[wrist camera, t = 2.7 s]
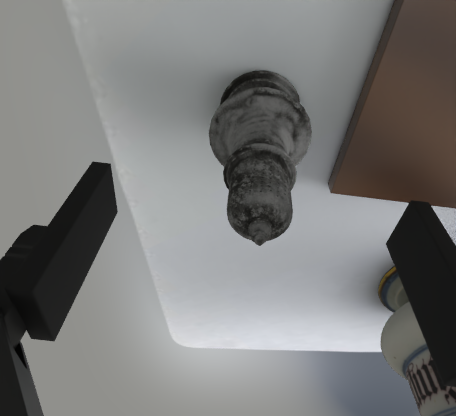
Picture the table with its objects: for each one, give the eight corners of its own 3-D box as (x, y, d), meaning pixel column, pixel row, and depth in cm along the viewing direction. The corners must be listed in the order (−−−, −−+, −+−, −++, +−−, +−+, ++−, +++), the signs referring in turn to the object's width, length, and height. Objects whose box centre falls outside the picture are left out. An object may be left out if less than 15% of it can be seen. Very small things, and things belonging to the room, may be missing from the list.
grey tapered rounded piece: (269, 43, 20) (278, 152, 10) (322, 118, 22) (366, 256, 13) (196, 105, 22) (153, 233, 13) (251, 164, 25) (247, 305, 16)
